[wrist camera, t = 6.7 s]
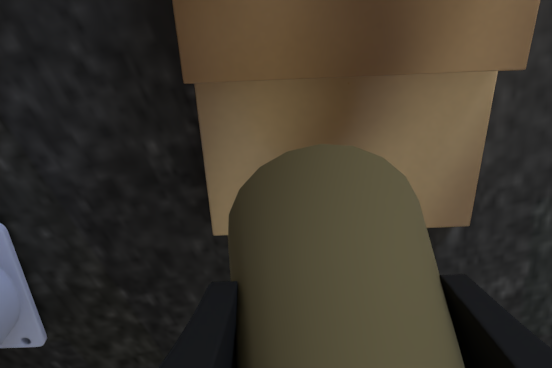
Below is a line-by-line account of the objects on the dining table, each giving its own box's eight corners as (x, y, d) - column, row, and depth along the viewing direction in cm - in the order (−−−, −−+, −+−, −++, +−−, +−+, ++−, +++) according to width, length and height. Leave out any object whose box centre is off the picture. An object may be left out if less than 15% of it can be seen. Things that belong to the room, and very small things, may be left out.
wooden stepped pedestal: (215, 224, 23) (197, 312, 17) (166, -173, 15) (110, -232, 10) (462, 215, 22) (520, 301, 17) (532, -191, 15) (672, -261, 10)
